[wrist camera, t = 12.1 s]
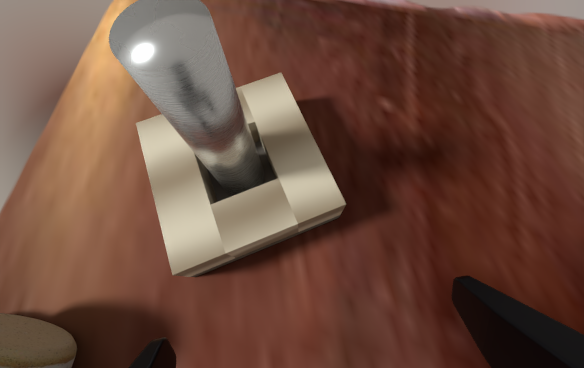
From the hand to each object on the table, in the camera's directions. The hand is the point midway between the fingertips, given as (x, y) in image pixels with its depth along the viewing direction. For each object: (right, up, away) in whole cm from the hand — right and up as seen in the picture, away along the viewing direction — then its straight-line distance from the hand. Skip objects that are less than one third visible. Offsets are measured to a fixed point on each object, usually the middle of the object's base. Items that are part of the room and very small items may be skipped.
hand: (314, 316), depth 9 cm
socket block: (-5, +4, +15) cm, 17 cm away
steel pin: (-5, +5, +14) cm, 16 cm away
